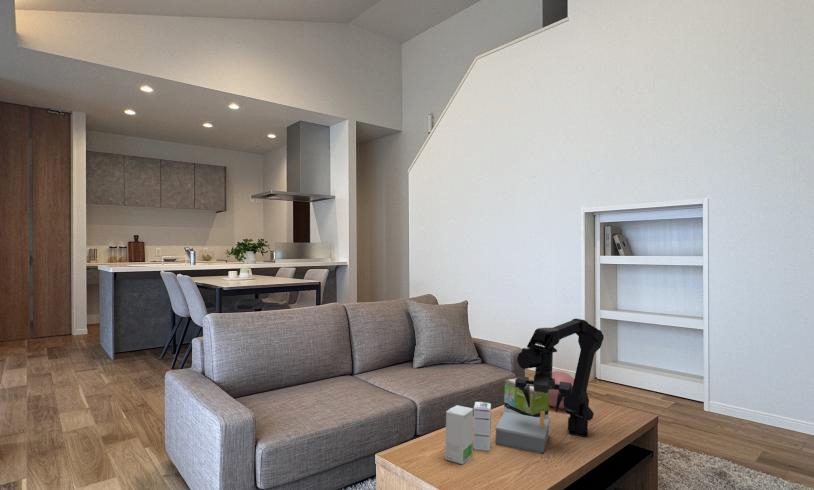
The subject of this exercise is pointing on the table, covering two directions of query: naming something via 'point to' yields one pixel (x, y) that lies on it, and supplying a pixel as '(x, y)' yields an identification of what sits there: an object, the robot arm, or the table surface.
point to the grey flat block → (521, 441)
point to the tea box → (518, 403)
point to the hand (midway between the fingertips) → (542, 409)
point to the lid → (524, 424)
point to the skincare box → (459, 434)
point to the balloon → (553, 393)
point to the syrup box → (482, 426)
